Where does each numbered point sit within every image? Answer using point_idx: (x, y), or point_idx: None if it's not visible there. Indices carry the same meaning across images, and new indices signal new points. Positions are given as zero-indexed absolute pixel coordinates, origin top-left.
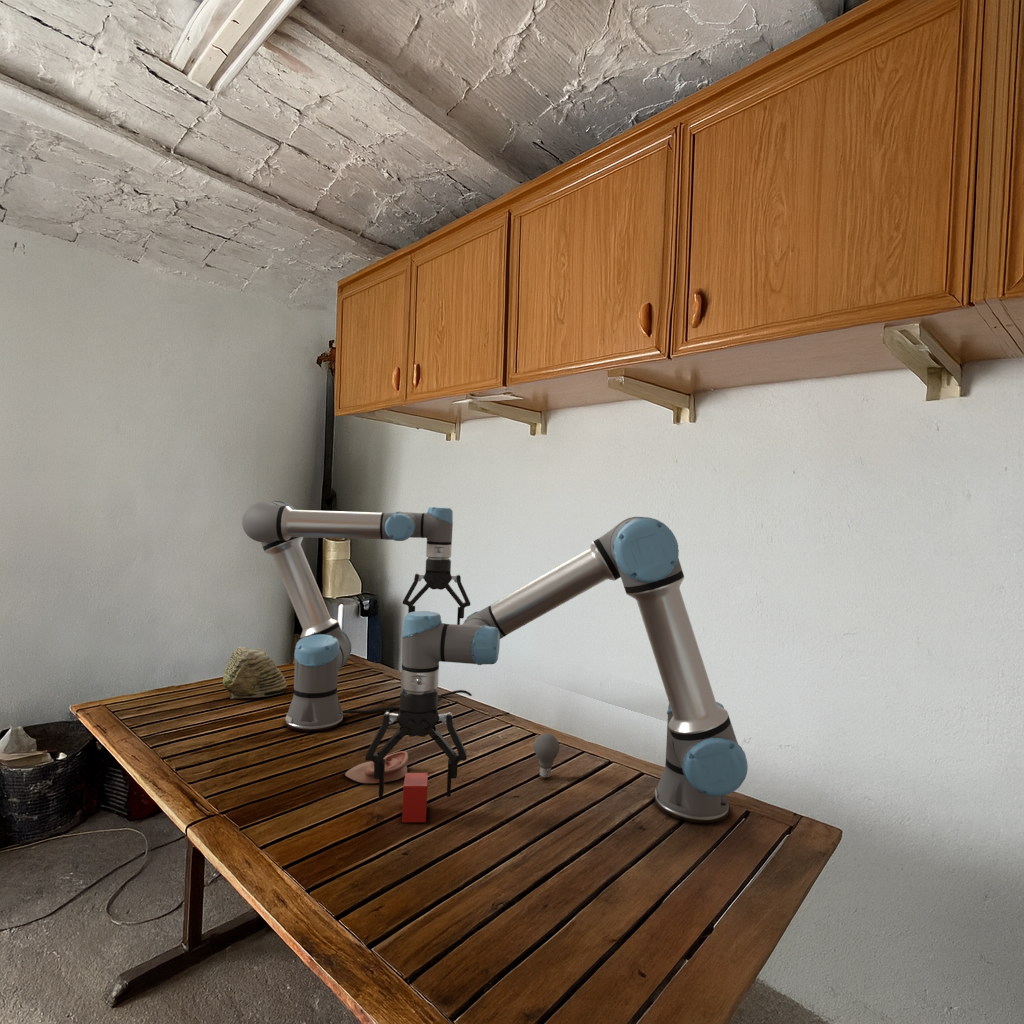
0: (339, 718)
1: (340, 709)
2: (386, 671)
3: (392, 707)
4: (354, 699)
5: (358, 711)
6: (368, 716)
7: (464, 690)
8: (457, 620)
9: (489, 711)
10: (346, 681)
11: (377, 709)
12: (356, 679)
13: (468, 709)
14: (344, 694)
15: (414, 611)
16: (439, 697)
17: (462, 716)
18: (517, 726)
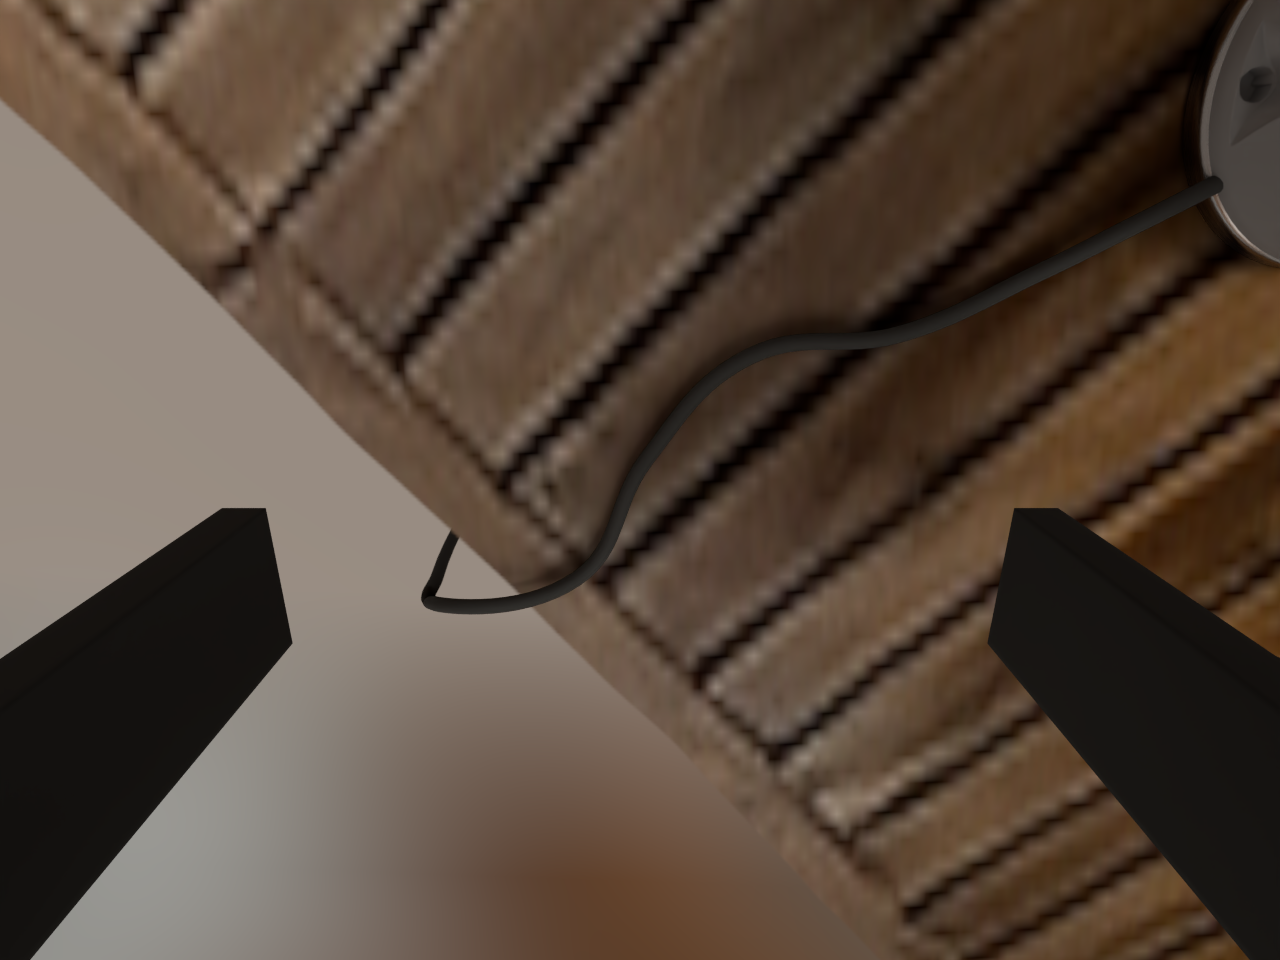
0: (1248, 19)
1: (1253, 123)
2: (884, 933)
3: (879, 334)
4: (1077, 516)
5: (1091, 241)
6: (1018, 223)
7: (460, 612)
8: (164, 602)
9: (299, 334)
10: (1097, 788)
11: (969, 303)
12: (1043, 818)
13: (427, 366)
14: None
15: (1277, 705)
16: (603, 535)
17: (454, 238)
18: (91, 50)
